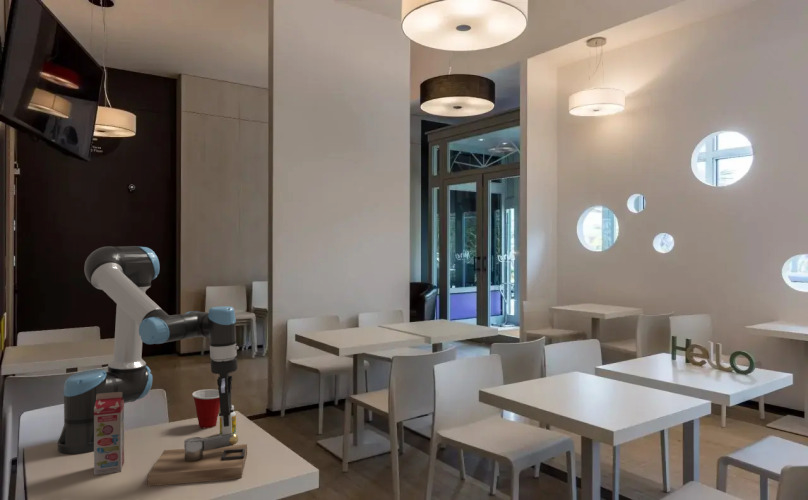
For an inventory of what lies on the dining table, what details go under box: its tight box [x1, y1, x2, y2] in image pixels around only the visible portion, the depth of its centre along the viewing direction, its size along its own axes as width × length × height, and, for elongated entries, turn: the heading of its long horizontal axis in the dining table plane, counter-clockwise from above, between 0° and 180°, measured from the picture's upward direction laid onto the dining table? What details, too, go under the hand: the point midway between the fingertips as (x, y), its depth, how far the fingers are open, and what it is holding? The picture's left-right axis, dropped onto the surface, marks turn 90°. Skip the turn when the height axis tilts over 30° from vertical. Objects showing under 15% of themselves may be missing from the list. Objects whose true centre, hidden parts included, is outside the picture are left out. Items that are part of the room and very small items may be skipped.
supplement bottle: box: [219, 404, 237, 436], centre depth 182 cm, size 5×5×10 cm
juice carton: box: [93, 392, 125, 476], centre depth 153 cm, size 7×7×22 cm
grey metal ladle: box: [183, 433, 239, 461], centre depth 155 cm, size 15×5×5 cm, turn 123°
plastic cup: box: [192, 389, 220, 429], centre depth 191 cm, size 11×11×12 cm
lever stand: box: [147, 443, 248, 487], centre depth 153 cm, size 18×24×4 cm
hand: (227, 435), depth 160 cm, fingers closed
